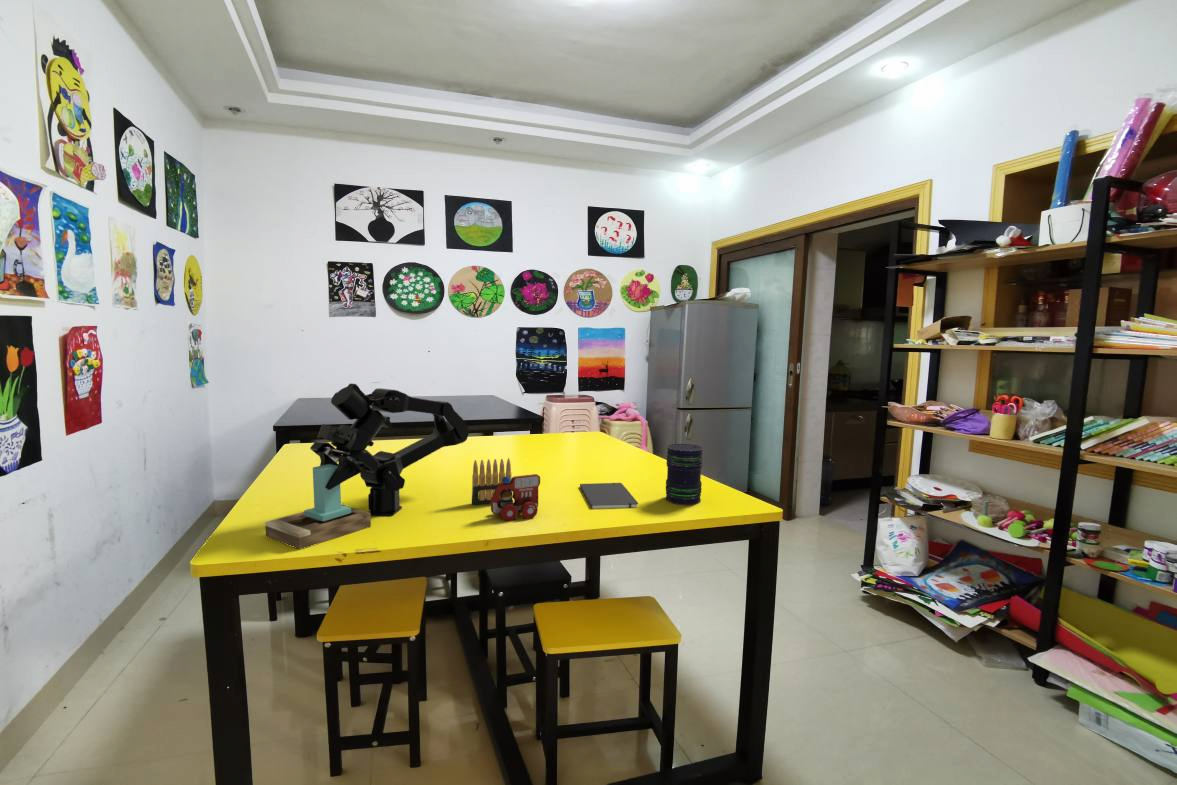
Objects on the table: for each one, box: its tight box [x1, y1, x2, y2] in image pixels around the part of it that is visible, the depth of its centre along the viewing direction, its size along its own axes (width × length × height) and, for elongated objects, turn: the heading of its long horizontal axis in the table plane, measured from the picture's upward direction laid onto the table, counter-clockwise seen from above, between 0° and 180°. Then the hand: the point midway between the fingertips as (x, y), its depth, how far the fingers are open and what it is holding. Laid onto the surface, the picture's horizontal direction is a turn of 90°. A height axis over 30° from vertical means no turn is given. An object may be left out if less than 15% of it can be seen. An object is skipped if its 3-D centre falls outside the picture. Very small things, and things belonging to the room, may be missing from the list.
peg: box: [303, 464, 351, 521], centre depth 126 cm, size 7×7×11 cm
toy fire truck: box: [490, 473, 541, 522], centre depth 138 cm, size 7×12×10 cm, turn 113°
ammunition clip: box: [471, 458, 513, 506], centre depth 148 cm, size 11×2×12 cm, turn 109°
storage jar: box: [665, 443, 704, 506], centre depth 154 cm, size 10×10×15 cm
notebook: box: [579, 482, 639, 510], centre depth 157 cm, size 13×2×21 cm
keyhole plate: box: [264, 504, 372, 550], centre depth 125 cm, size 17×13×3 cm
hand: (321, 487), depth 125 cm, fingers closed on peg, 4 cm apart
